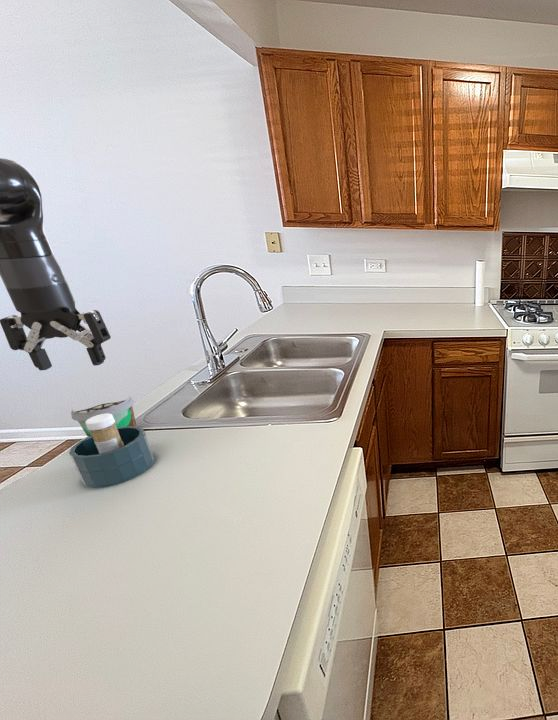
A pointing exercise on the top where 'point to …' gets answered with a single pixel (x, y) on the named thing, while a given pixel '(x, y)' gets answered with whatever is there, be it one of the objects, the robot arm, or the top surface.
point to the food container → (119, 410)
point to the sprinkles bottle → (104, 432)
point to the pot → (113, 459)
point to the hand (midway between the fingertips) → (72, 366)
